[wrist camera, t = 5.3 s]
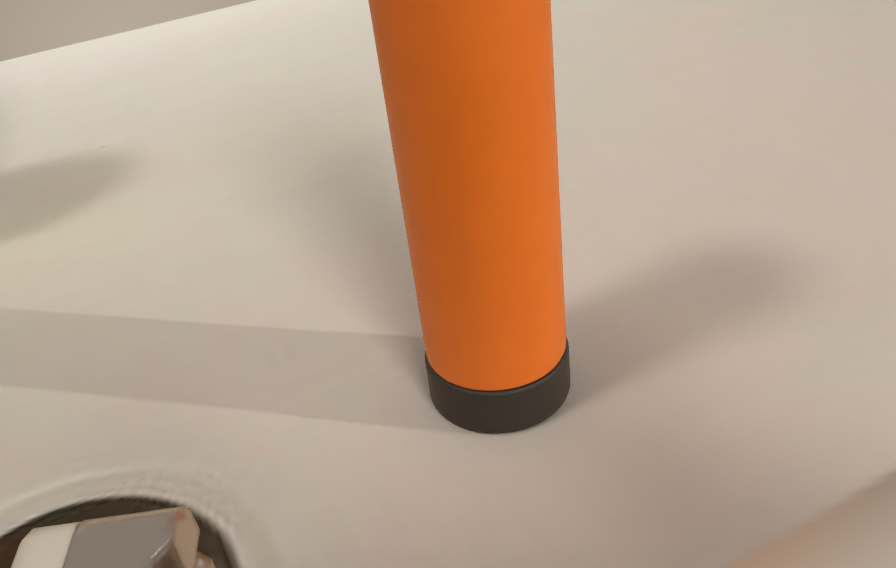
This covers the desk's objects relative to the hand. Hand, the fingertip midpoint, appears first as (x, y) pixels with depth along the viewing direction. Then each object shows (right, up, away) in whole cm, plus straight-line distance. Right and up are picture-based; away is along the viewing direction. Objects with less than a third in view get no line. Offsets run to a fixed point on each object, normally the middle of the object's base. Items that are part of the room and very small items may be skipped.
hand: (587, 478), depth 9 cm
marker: (0, 0, +11) cm, 11 cm away
